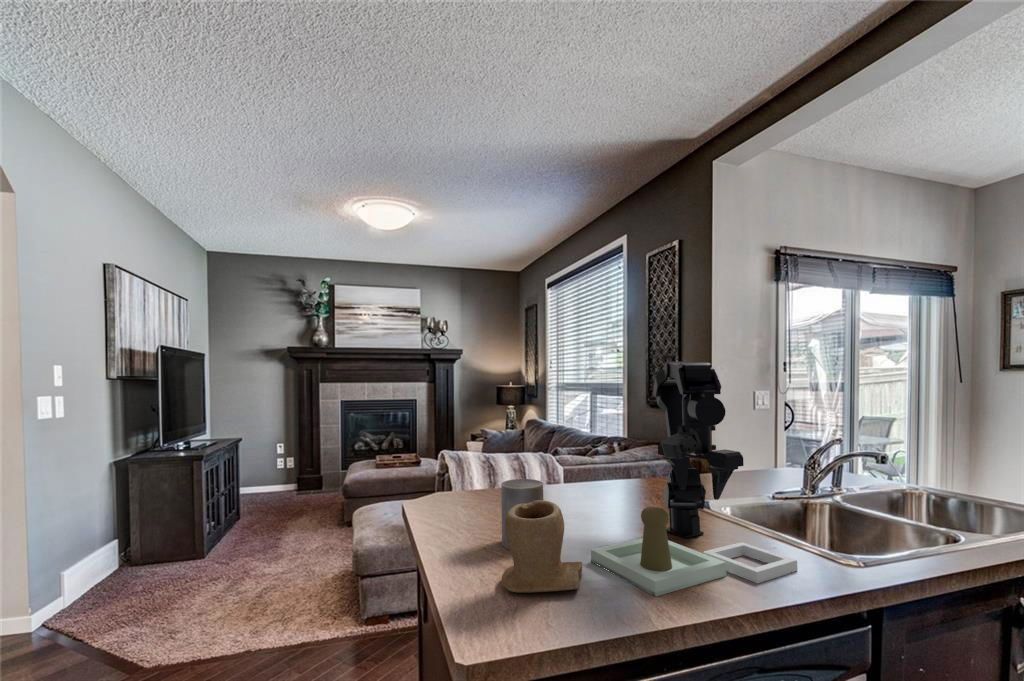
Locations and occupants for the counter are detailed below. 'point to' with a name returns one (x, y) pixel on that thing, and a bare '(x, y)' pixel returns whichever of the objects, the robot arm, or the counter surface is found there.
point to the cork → (655, 540)
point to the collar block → (773, 569)
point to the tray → (684, 572)
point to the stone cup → (538, 550)
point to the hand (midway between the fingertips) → (699, 494)
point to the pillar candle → (518, 497)
